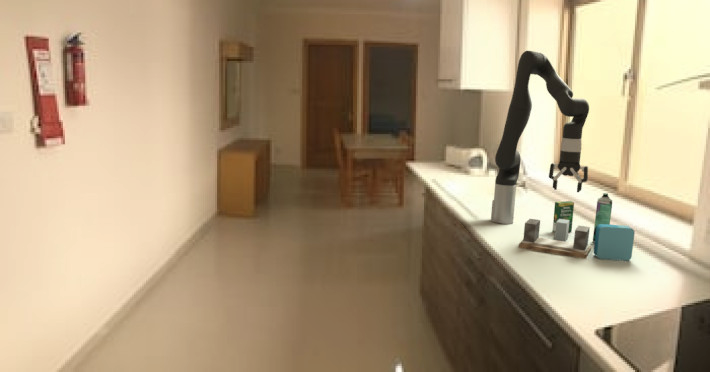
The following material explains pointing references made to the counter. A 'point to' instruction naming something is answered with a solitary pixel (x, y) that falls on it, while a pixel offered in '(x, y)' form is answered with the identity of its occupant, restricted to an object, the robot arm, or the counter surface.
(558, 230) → the block
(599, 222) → the spray can
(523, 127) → the robot arm
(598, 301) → the counter surface
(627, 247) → the blue rounded block
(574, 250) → the wooden block stand
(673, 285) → the counter surface
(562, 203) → the coffee box
